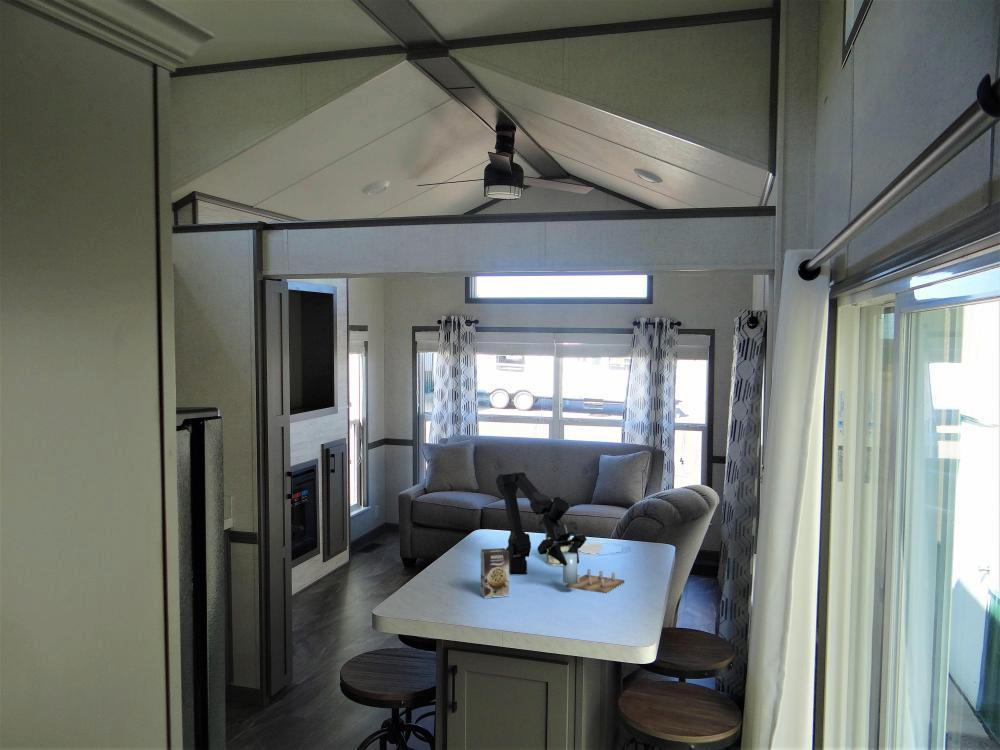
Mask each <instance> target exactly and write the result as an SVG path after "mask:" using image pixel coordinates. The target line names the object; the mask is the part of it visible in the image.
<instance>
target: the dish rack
mask: <svg viewBox="0 0 1000 750" xmlns="http://www.w3.org/2000/svg"><path fill="white" fill-rule="evenodd" d="M586 573H587V574H584V575H582V576H580V574H577V583H574V584H567V583H565V584H566V588H570V587H571V589H577V590H582V591H590V592H597V593H601V592H602V593H601V594H608V593H610V592H611V591H613V590H615V589H616V587H617V586H618V587H620V586H622V585H623V584H625V583H624V582H626V581H625V580H624V579H618V578H616V572H611V577H606V576H603V574H604V573H603V570H599V571H598V573H599V575H592V574H591V569H590V568H588V569H587V572H586ZM622 583H623V584H622ZM621 584H622V585H621ZM619 585H620V586H619ZM618 587H617V588H618ZM614 588H615V589H614ZM612 589H613V590H612ZM609 591H610V592H609ZM607 592H608V593H607Z"/></svg>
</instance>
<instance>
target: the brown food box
mask: <svg viewBox="0 0 1000 750" xmlns="http://www.w3.org/2000/svg"><path fill="white" fill-rule="evenodd" d="M481 593H482V595H483V596H484V597H493V596H504V595H509V596H510V573H509V551H508V550H506V548H505V547H503V548H502V547H501V548H487V549H485V548H484V549H483V548H482V549H480V594H481ZM482 595H481V596H482ZM483 596H482V597H483ZM484 597H483V598H484Z"/></svg>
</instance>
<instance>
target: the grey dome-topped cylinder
mask: <svg viewBox="0 0 1000 750" xmlns="http://www.w3.org/2000/svg"><path fill="white" fill-rule="evenodd" d="M563 555H564V557H565V559H566V562H567V565H566V566H565V565H563V566H562V582H563V583H564V584H574V583H577V575H578V564H577V553H574V552H565V553H563Z"/></svg>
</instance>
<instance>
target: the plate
mask: <svg viewBox="0 0 1000 750" xmlns="http://www.w3.org/2000/svg"><path fill="white" fill-rule="evenodd" d="M601 542H606V541H601V540H599V541H598V540H597V541H596V540H594V541H591V540H590V541H585V543H584V544H583V545H582V546H581V548H579V549H578V556H584V555H585V556H586V557H593V556H595V555H597V554H596V552H597V553H598V552H599V551H601V549H602V547H603V546H602V545H601V544H602V543H601ZM612 542H613V541H612ZM614 543H616V542H615V541H614V542H613V543H612V544H614ZM603 549H604V547H603ZM579 552H581V553H579ZM582 553H583V554H582ZM588 553H590V554H588ZM585 556H584V557H585Z"/></svg>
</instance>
